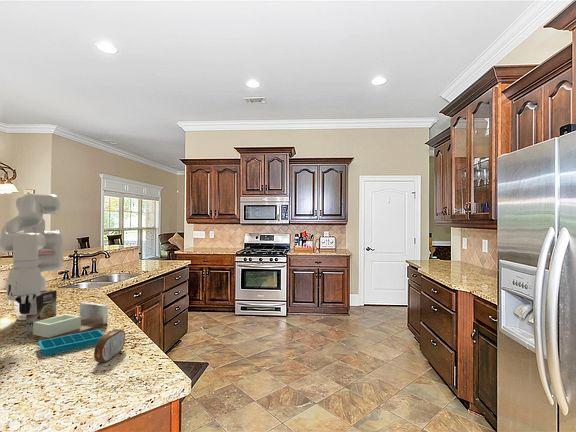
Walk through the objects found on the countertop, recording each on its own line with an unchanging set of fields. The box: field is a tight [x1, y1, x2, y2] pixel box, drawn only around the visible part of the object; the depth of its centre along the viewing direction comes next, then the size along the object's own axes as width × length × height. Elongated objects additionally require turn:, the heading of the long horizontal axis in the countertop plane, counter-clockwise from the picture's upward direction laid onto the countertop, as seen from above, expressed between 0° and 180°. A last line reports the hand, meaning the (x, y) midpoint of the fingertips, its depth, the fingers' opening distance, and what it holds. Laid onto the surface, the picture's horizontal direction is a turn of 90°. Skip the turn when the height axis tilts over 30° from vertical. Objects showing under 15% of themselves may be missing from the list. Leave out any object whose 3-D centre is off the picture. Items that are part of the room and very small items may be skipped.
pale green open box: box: [32, 313, 81, 338], centre depth 137 cm, size 10×13×5 cm
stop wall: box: [79, 301, 109, 324], centre depth 152 cm, size 16×2×8 cm, turn 66°
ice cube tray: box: [37, 329, 106, 356], centre depth 124 cm, size 12×20×3 cm, turn 133°
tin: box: [93, 328, 126, 363], centre depth 113 cm, size 15×3×8 cm, turn 178°
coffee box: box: [25, 289, 58, 333], centre depth 145 cm, size 9×6×16 cm
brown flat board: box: [26, 320, 108, 341], centre depth 142 cm, size 16×24×1 cm, turn 156°
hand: (24, 313), depth 126 cm, fingers closed
